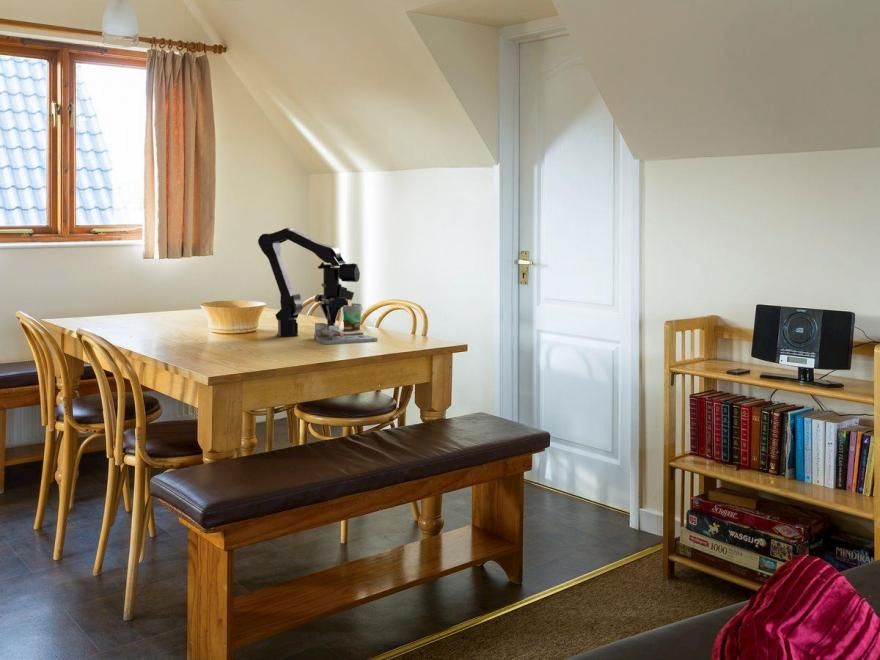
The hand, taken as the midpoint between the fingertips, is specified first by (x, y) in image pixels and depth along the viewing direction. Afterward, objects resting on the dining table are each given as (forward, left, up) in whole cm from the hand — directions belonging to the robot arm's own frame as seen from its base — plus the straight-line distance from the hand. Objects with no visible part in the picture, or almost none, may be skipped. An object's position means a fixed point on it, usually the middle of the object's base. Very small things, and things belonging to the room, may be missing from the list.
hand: (331, 323), depth 337 cm
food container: (+17, +18, -6) cm, 25 cm away
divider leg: (0, -4, -4) cm, 6 cm away
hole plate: (+2, -10, -6) cm, 12 cm away
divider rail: (+3, -4, -5) cm, 7 cm away
